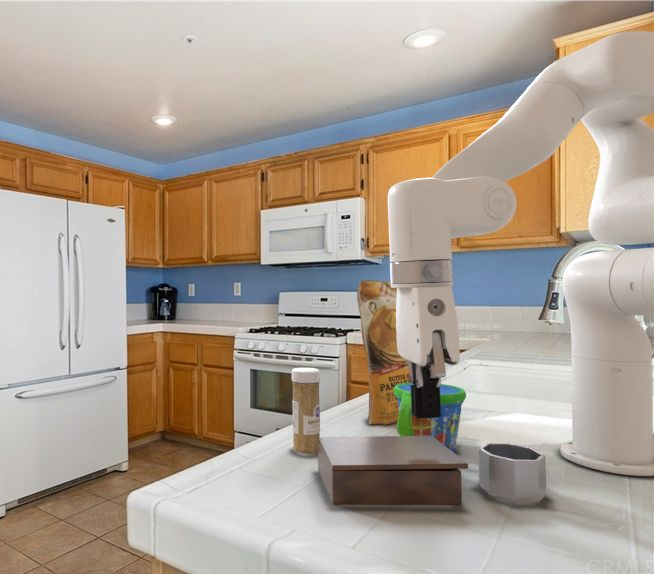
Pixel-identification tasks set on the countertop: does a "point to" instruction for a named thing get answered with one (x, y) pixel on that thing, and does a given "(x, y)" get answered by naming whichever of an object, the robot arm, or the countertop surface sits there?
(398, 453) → the lid
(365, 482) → the chest
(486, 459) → the steel cup
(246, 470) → the countertop surface
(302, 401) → the sprinkles bottle
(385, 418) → the pancake mix bag
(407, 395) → the snack cup
